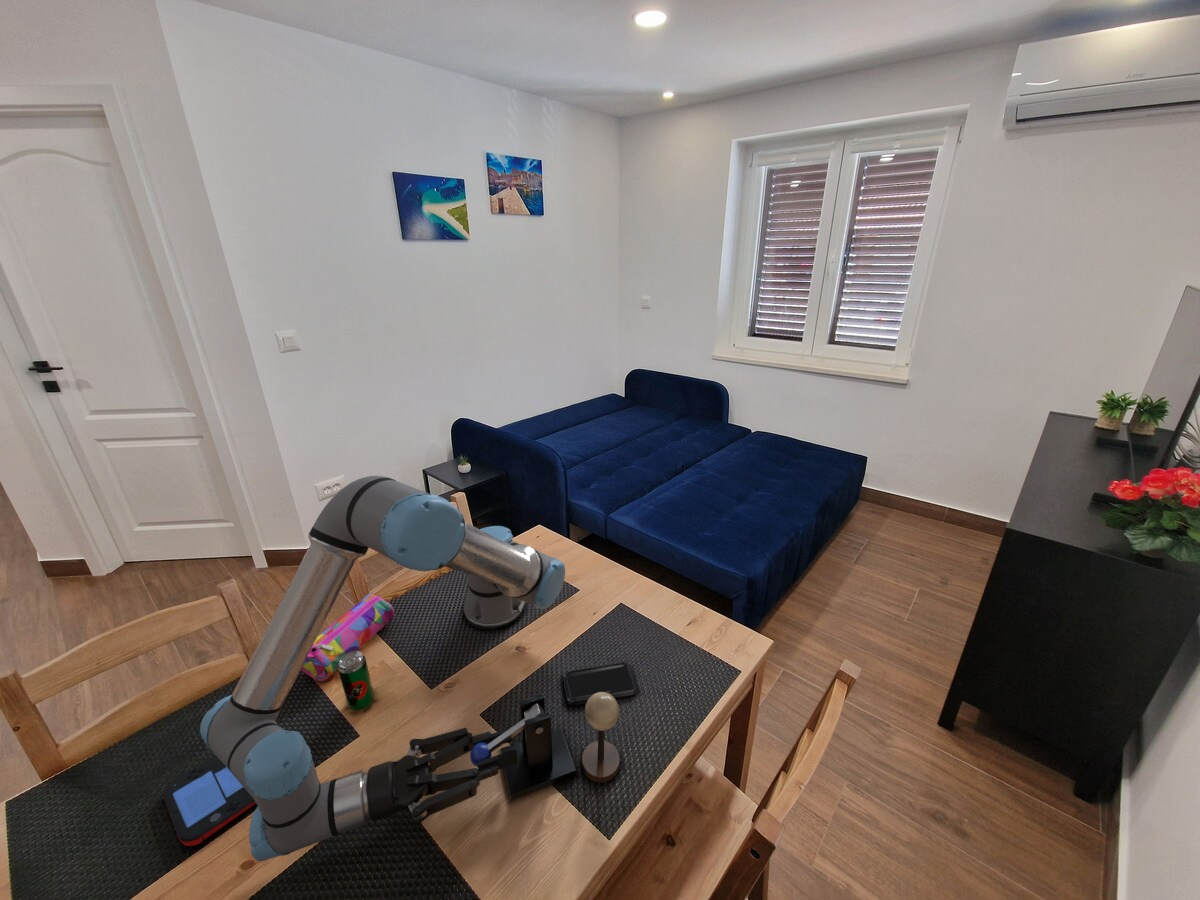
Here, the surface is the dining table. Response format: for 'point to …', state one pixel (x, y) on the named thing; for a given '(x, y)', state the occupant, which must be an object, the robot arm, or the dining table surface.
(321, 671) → the pencil case
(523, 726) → the switch lever
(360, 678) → the soda can
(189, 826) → the game console
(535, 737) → the switch bracket
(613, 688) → the phone
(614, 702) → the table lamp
